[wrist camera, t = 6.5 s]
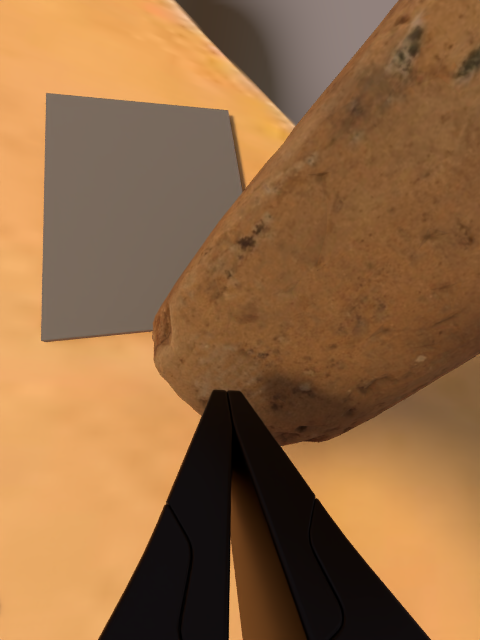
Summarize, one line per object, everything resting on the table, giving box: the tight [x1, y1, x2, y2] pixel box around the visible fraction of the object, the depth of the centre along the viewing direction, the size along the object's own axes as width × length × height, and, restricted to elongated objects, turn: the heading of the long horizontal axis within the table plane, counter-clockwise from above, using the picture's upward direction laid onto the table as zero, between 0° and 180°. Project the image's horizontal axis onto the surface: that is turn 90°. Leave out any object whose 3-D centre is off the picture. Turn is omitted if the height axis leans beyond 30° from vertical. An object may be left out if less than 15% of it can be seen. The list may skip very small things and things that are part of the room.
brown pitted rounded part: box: [152, 0, 480, 446], centre depth 11 cm, size 11×8×20 cm
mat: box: [41, 93, 242, 342], centre depth 20 cm, size 19×14×1 cm
